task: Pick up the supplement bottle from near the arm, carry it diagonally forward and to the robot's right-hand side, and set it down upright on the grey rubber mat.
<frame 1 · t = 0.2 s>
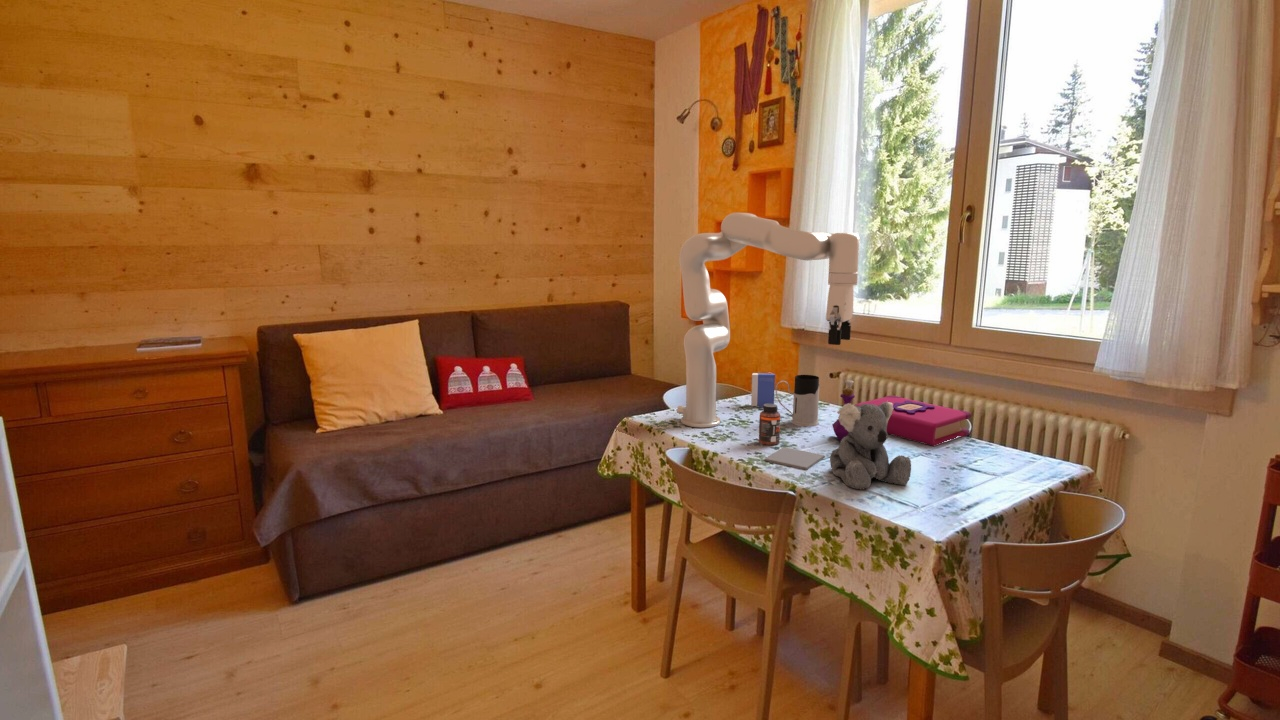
hand: (839, 341, 183), 31 cm above the table, tool pointing down, fingers open, 9 cm apart
book: (909, 431, 207), on the table
perfume bottle: (845, 440, 197), on the table
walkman: (762, 406, 234), on the table
supplement bottle: (769, 443, 194), on the table
grey mat: (794, 459, 180), on the table
koala plush: (862, 477, 167), on the table
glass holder: (796, 423, 214), on the table
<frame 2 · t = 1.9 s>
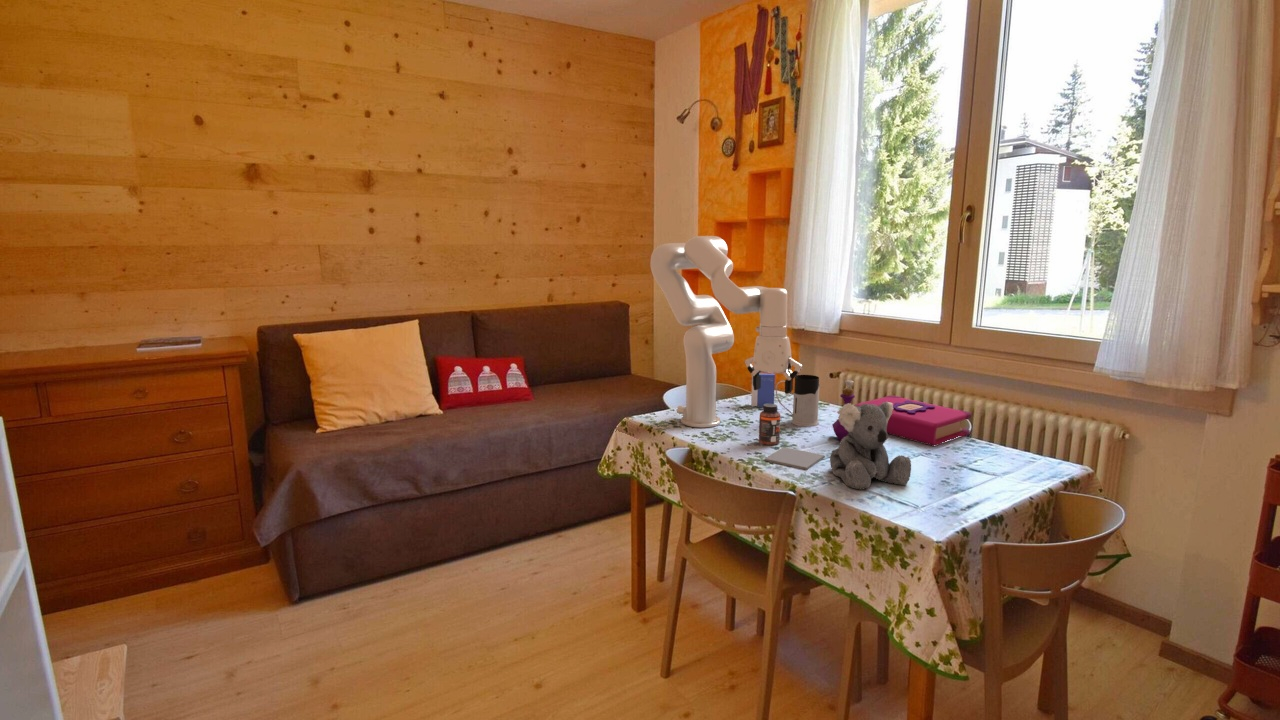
hand: (772, 391, 191), 16 cm above the table, tool pointing down, fingers open, 9 cm apart
nothing on the table moved.
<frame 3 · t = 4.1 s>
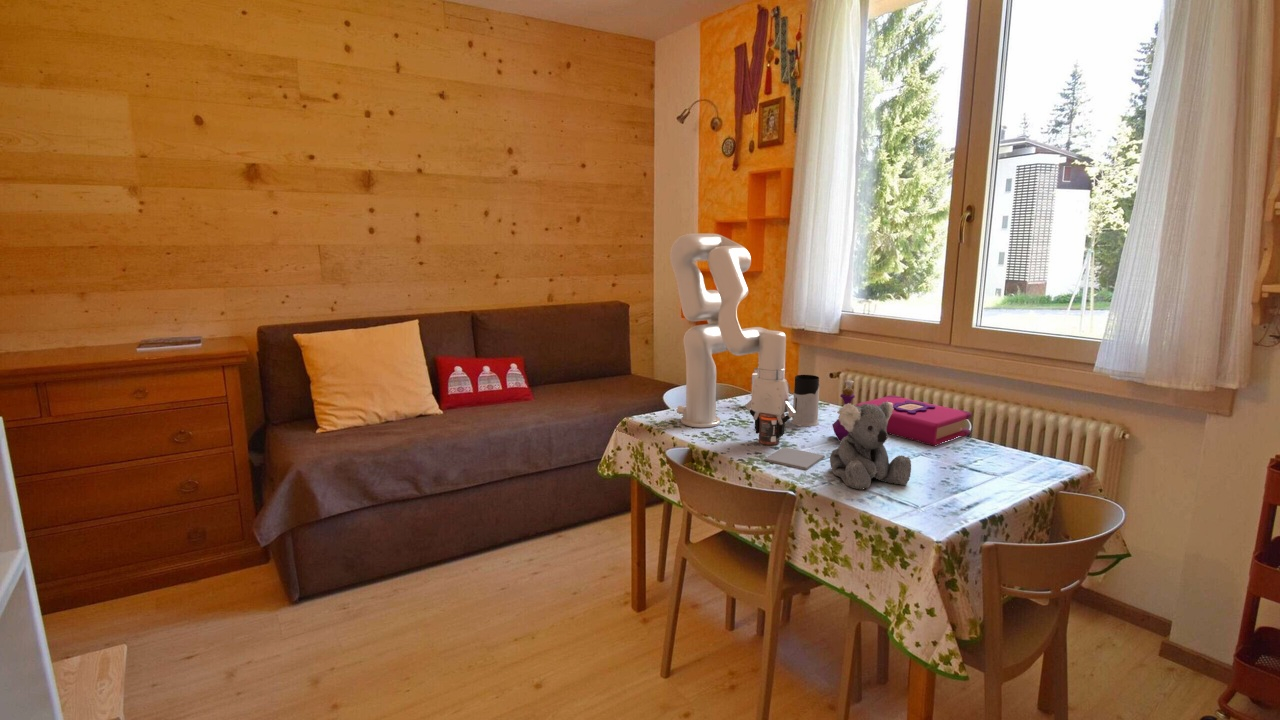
hand: (769, 433, 194), 3 cm above the table, tool pointing down, fingers closed on supplement bottle, 6 cm apart
supplement bottle: (769, 443, 194), on the table, touching gripper
everything else where it was.
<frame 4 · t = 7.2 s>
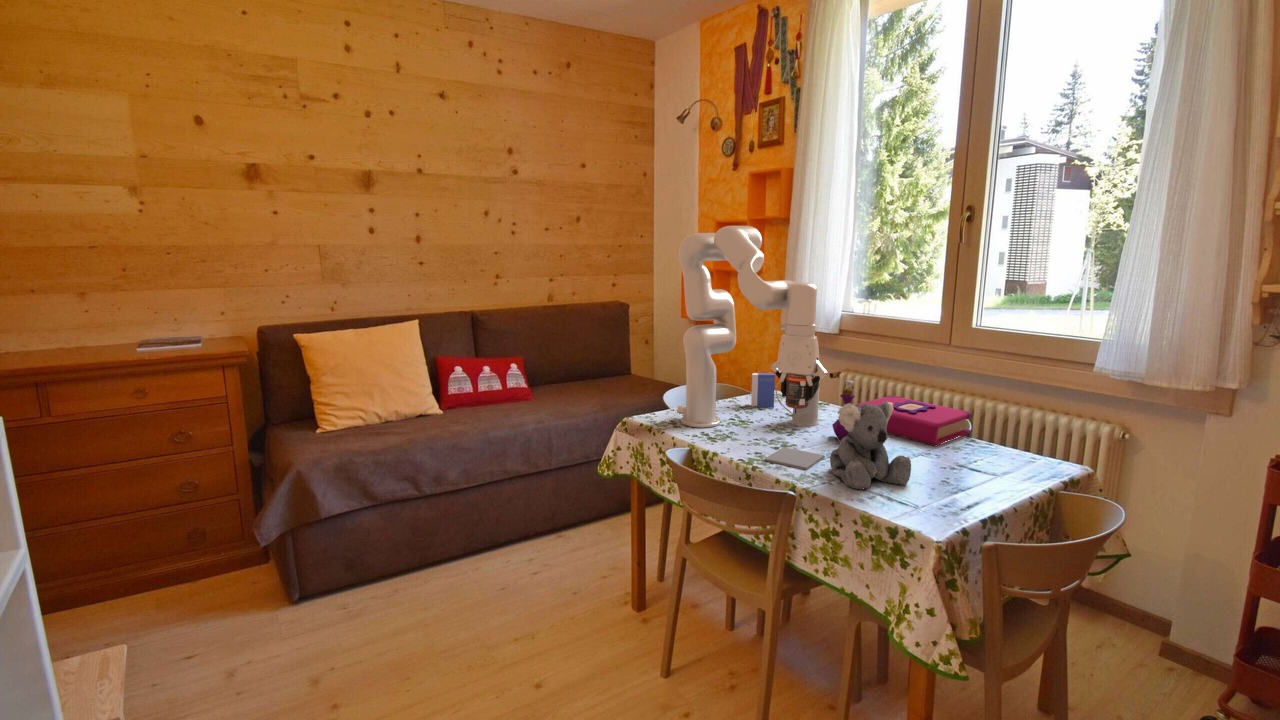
hand: (797, 397, 177), 17 cm above the table, tool pointing down, fingers closed on supplement bottle, 6 cm apart
supplement bottle: (796, 407, 177), point 14 cm above the table, touching gripper
everything else where it was.
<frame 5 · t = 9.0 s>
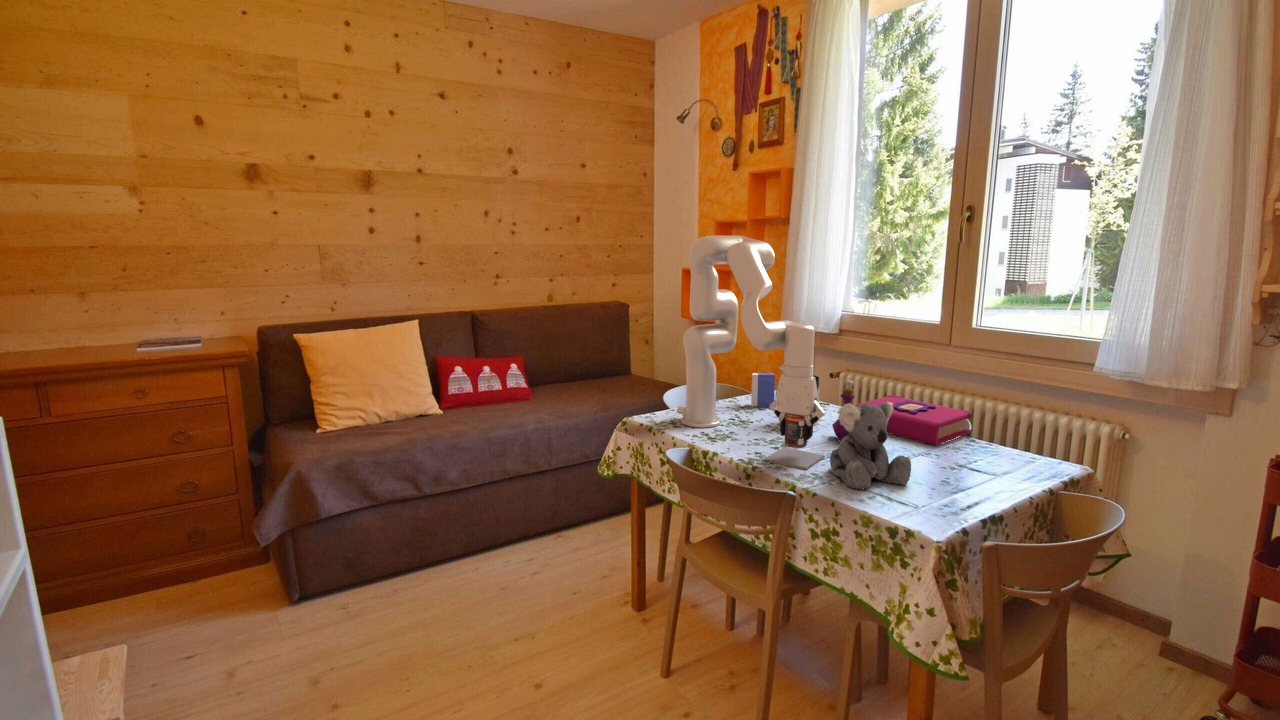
hand: (795, 436, 179), 6 cm above the table, tool pointing down, fingers closed on supplement bottle, 6 cm apart
supplement bottle: (795, 446, 179), point 4 cm above the table, touching gripper
everything else where it was.
when the fingers open (4 cm above the table, at t = 10.3 s): supplement bottle drops 1 cm, resting on grey mat.
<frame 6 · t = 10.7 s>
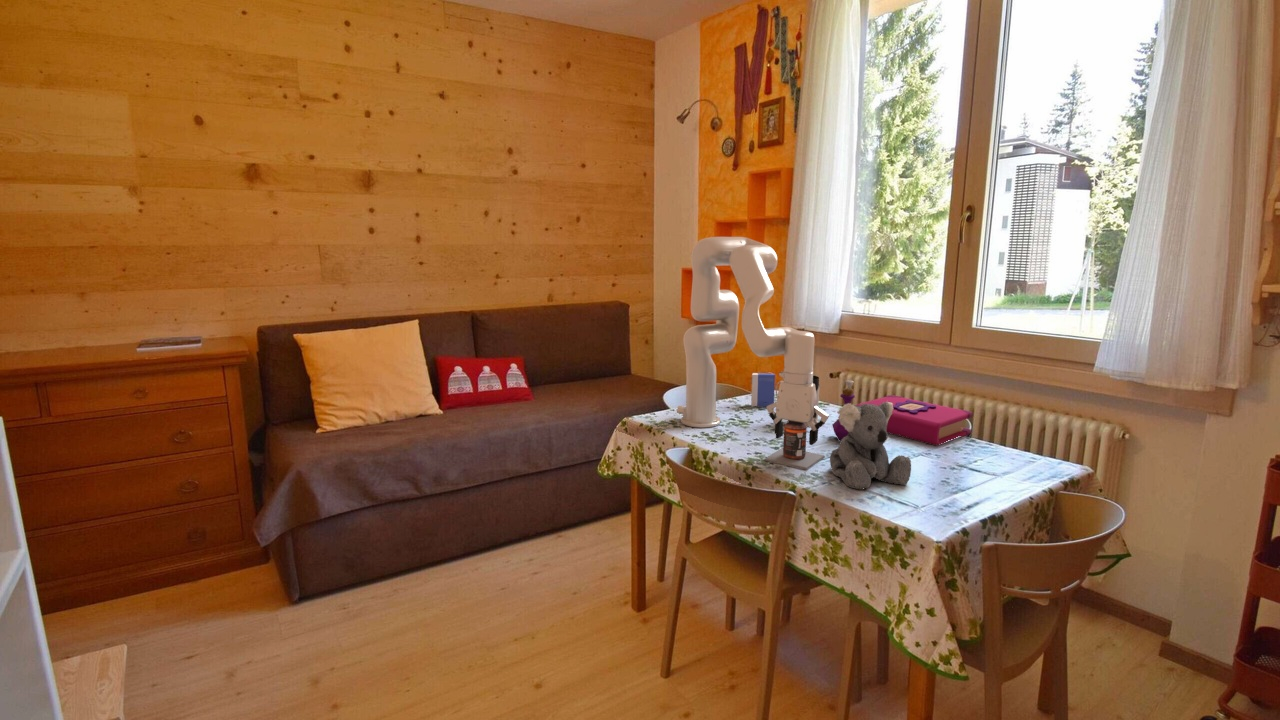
hand: (795, 440, 179), 5 cm above the table, tool pointing down, fingers open, 9 cm apart
supplement bottle: (794, 457, 180), resting on grey mat
everything else where it was.
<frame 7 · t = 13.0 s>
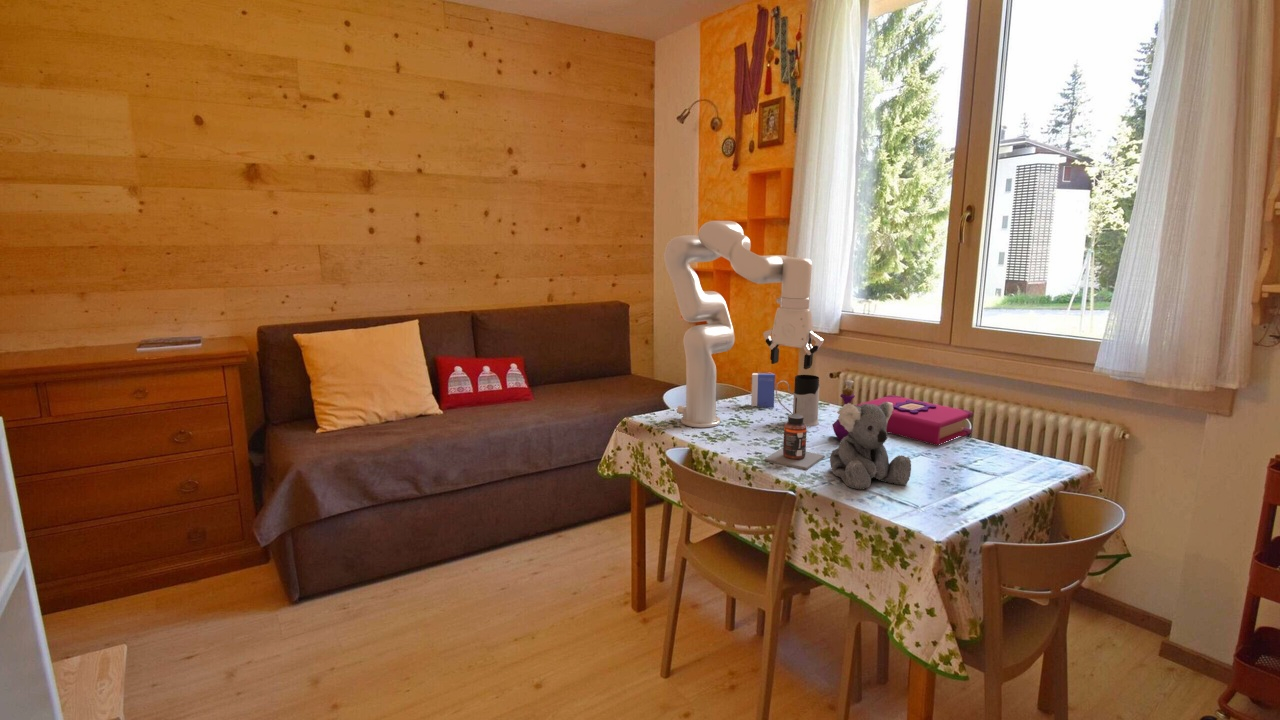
hand: (790, 365, 183), 24 cm above the table, tool pointing down, fingers open, 9 cm apart
nothing on the table moved.
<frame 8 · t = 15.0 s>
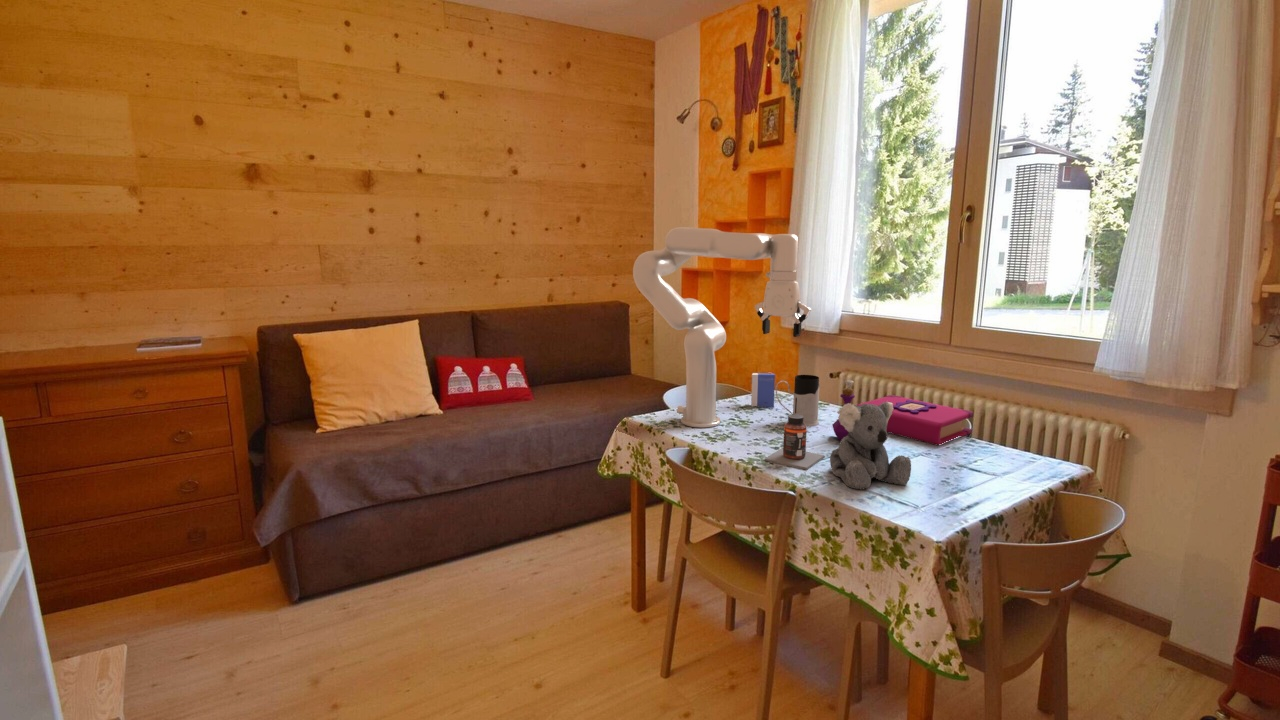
hand: (781, 334, 198), 30 cm above the table, tool pointing down, fingers open, 9 cm apart
at the end: supplement bottle inside the target area on the grey mat (0.3 cm from its centre), point 0.4 cm above the grey mat's base; supplement bottle tilted 0°; the gripper is holding nothing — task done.
